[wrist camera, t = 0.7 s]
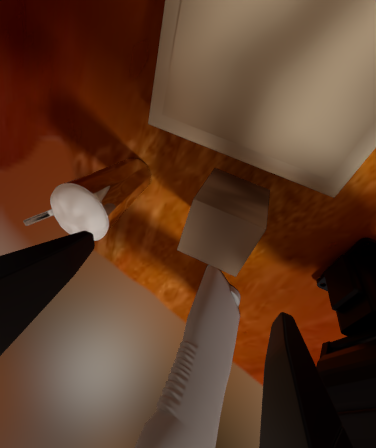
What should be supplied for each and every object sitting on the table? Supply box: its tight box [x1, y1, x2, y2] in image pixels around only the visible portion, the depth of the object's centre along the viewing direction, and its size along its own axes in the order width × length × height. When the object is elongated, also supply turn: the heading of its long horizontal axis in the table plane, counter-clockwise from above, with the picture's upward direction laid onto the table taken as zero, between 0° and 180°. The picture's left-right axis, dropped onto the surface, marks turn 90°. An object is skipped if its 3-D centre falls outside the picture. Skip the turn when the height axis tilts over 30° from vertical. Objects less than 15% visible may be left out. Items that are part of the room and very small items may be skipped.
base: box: [148, 0, 376, 198], centre depth 13 cm, size 14×12×3 cm
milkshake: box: [24, 158, 151, 241], centre depth 18 cm, size 4×5×10 cm
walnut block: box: [177, 168, 270, 277], centre depth 18 cm, size 5×5×6 cm
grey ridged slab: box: [135, 265, 240, 448], centre depth 19 cm, size 11×4×22 cm, turn 24°
